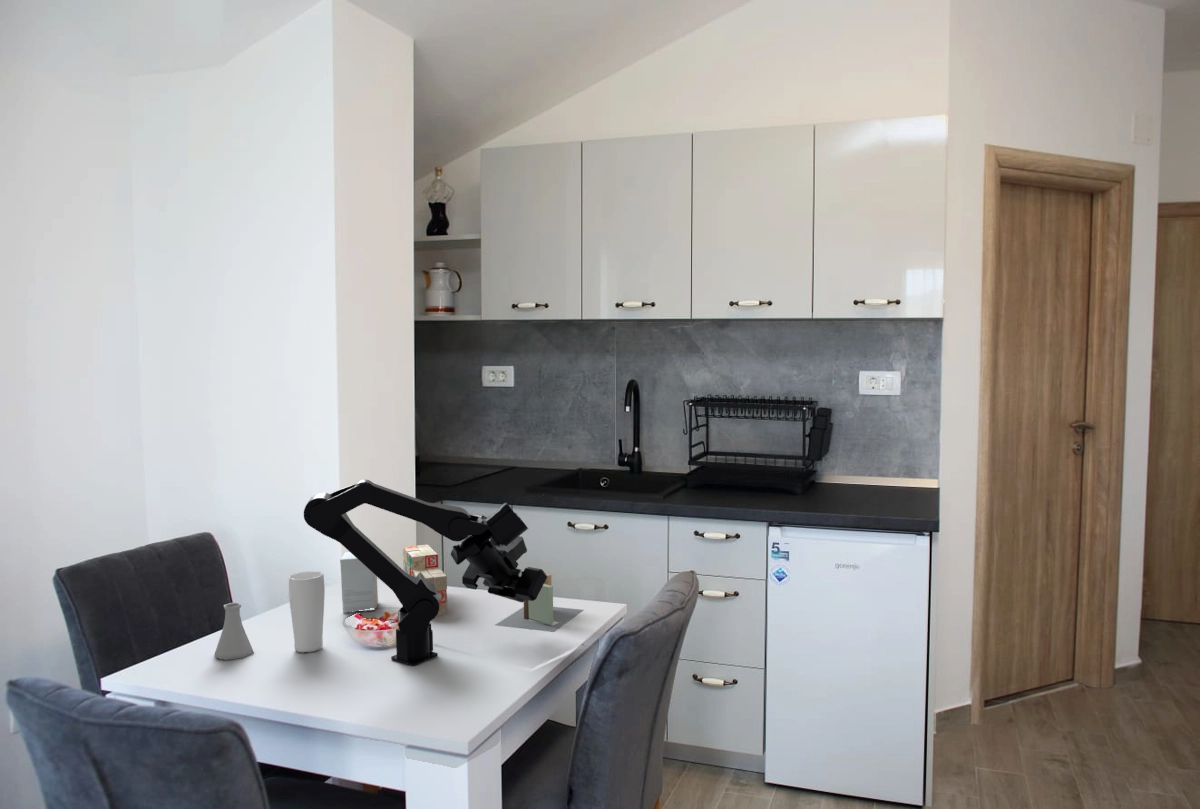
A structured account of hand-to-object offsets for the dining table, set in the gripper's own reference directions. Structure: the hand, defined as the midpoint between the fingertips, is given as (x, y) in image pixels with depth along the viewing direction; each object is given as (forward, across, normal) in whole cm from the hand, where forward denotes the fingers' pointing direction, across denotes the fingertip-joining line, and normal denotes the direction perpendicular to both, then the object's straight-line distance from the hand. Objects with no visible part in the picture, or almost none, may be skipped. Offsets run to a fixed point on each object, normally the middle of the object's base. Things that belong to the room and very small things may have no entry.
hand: (522, 600), depth 177 cm
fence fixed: (+12, +5, -3) cm, 14 cm away
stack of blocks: (+8, +33, +3) cm, 34 cm away
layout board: (+12, +3, -2) cm, 12 cm away
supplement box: (+1, +44, +10) cm, 45 cm away
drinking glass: (-16, +30, +27) cm, 44 cm away
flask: (-23, +41, +34) cm, 58 cm away
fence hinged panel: (+9, +1, 0) cm, 9 cm away
